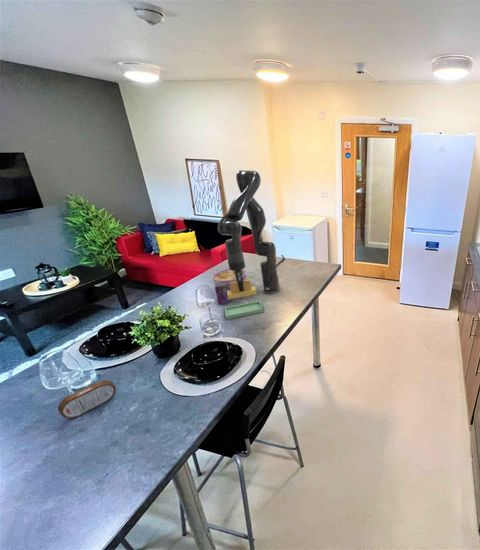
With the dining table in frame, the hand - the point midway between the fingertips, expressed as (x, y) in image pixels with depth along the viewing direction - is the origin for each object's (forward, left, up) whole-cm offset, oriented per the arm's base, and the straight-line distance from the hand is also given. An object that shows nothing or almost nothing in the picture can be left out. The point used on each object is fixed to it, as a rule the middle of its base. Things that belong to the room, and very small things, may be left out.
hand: (241, 289), depth 153 cm
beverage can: (-9, -22, -17) cm, 29 cm away
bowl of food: (-23, -28, -17) cm, 40 cm away
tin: (+68, -12, -17) cm, 71 cm away
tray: (-4, -4, -17) cm, 18 cm away
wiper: (0, 0, -3) cm, 3 cm away
